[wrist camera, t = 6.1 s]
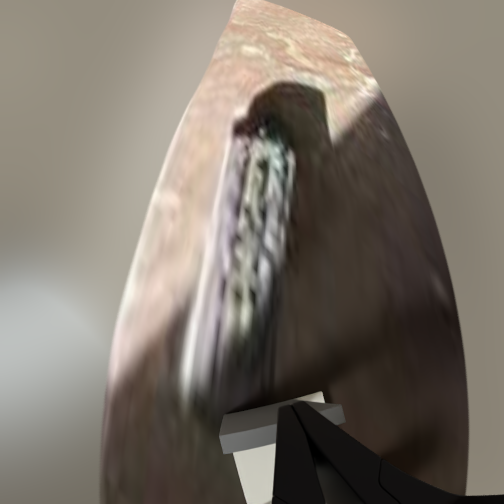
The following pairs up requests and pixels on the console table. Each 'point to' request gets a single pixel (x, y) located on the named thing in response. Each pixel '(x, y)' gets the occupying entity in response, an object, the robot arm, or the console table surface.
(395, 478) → the robot arm
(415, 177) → the console table surface
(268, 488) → the white bracket
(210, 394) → the console table surface
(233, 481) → the console table surface
